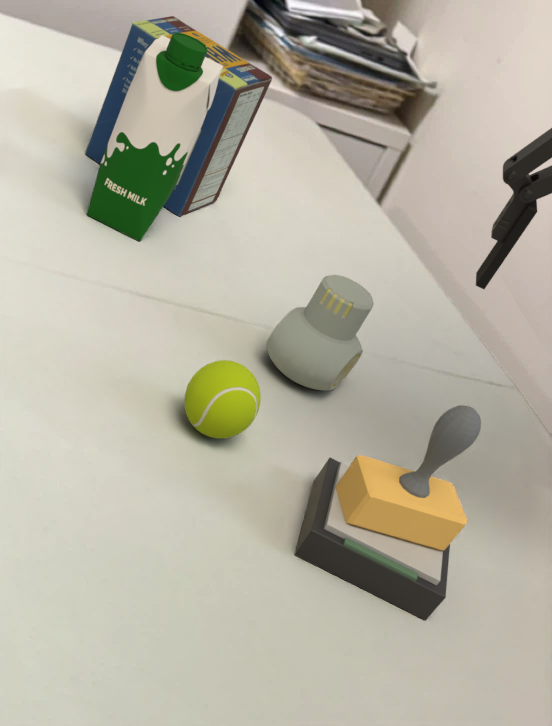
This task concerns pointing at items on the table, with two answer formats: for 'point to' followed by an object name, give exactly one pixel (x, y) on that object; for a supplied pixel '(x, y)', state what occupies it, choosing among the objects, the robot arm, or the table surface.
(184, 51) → the milk carton
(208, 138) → the protein box
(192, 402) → the tennis ball
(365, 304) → the air freshener
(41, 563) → the table surface
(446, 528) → the rubber stamp
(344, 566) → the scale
